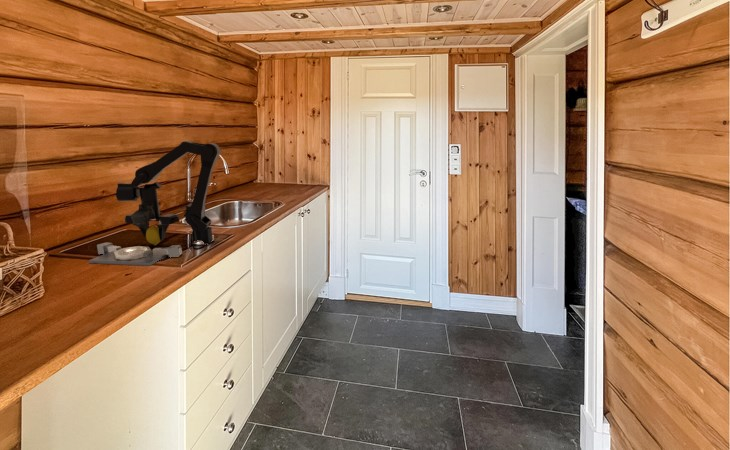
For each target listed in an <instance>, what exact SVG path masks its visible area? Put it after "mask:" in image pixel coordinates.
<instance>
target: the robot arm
mask: <svg viewBox="0 0 730 450" xmlns="http://www.w3.org/2000/svg"><path fill="white" fill-rule="evenodd" d="M188 153H190V154H195V155H199V156H200V166H201V167H200V170H199V175H198V180H197V183H196V188H195V190H194V197H193V201H192V203H191V202H190V203H188V204H187V205H186V206H185V213H184V214H183V217H185V219H184V220H185V222H186V224H187V225H189V226H190V228H191V230H192V232H191V238H192V243H191V246H194V245H193V243H194V241H197V240H202V241H203V242H204V243H210V242H211V241H212V240H214V242H216V241H215V239H213V232H212V231H213V230H212V227H210V226H211V224H212V220H211V219H210V217H208V216H207V215H206V199H207V194H208V191H209V188H210V187H209V186H210V183H211V182H210V181H211V178H212V173H213V169H214V168H215V165H216V163H217V162H218V160H219V157H220V155H221V147H220V146H219V144H216V143H214V142H210V143H206V144H205V143H201V142H200V143H199V142H193V141H191V140H185V141H182V142H181V143H180V144H178V146H176V147H174V148H173V149H171V150H170V151H169V152H167V153H165V154H164V155H163V156H161V157H160V158H158V159H157V160H156V161H153V162H151V163H148V164H147V165H144V166H142V167H139V168H137V169H136V171H135V172H134V176H135V177H134V178H133V180H132V181H131V182H129V183H127V182H126V183H125V182H119V183H117V184H116V185H117V187H116V192H115V197H116V200H117V202H137V201H138V199H140V204H138V210H136V211H134V212H133V213H129V214H127V215H125V217H124V222H125V224H132V226H135V227H137V228H138V229H139V231H140V232H141V234H142V236H143V237H144V239H145V240H146V241H147V239H146V231H147V229H148V228H149V227H150V222H159V223H157V224H156V225H155V226H156V227H158V229H159V236H160V241H161V242H163V241H164V239H165V236H166V234H167V231H168V228H169V226H170V225H173V224H175V223H178V222H180V217H179V215H178V214H175V213H168V214H164V215H163V212H160V207H159V206H160V205H161V201H159V198H158V190H159V189H161V188H163V185H161V184H160V183H159V182H158V181H155V180H156V179H157V178H158V177H159V176H160V175H161V174H162V172H163V171H164V170H165V169H166V168H168V167H170V166H171V165H173V163H175V162H177V161H178V160H180V159H181V158H183V157H184V156H186V155H187V154H188ZM153 181H155V182H154V183H150V182H153ZM142 185H144V186H142ZM206 246H208V245H207V244H206Z"/></svg>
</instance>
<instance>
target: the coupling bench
mask: <svg viewBox="0 0 730 450" xmlns="http://www.w3.org/2000/svg"><path fill="white" fill-rule="evenodd" d="M181 245H182V244H177V245H176V244H174V245H170V246H168V247H154V248H153V249H151V248H150V247H149V246H148V245H147V246H141V245H136V246H129V247H128V246H127V247H123V248H122V246H119V245H118V246H117V245H114V244H113V243H112V242H103V243H98V244H96V248H97V254H98V256H96V257H93V258H91V259H89V260H88V263H89V264H98V265H99V264H100V265H118V266H119V265H122V266H147V267H150V266H152V265H154V264H156V263H158V262H160V261H162V260H164V259H166V258H167V256H168V258H169V257H170V258H169V259H172V258H171V257H179V256H180V255H181V254H182V255H183V250H182V249H183V248H182V246H181ZM100 254H103V255H100ZM182 255H181V256H182ZM181 256H180V257H181ZM180 257H179V258H180ZM161 259H162V260H161ZM159 260H160V261H159ZM157 261H158V262H157ZM155 262H156V263H155Z"/></svg>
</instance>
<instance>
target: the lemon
mask: <svg viewBox="0 0 730 450" xmlns="http://www.w3.org/2000/svg"><path fill="white" fill-rule="evenodd" d="M146 239H147V240H146ZM146 239H145V240H146V241H147V242H148V243H149V244H151V245H153V246H157V245H158V244H160V243H161V242H162V241H160V236H159V229H158V227H157V226H156V225H151V226H149V228H148V229H147V231H146Z"/></svg>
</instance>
